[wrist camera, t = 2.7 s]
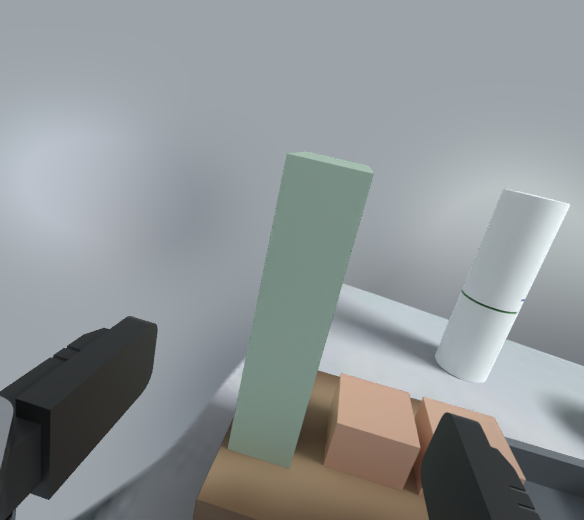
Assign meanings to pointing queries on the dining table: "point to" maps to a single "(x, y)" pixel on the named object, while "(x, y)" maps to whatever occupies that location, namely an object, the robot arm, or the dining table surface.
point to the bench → (302, 480)
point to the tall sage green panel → (297, 300)
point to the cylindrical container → (498, 282)
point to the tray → (551, 481)
